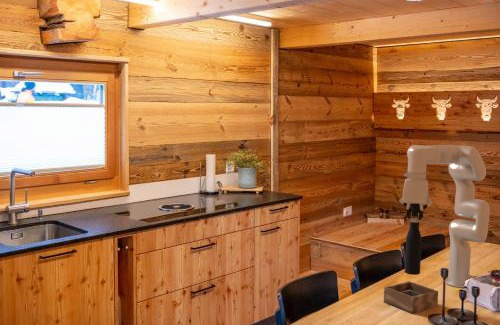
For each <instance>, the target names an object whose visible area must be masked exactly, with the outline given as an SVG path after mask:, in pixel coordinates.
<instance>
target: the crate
mask: <svg viewBox="0 0 500 325" xmlns="http://www.w3.org/2000/svg"><path fill="white" fill-rule="evenodd" d="M383 303H384V304H386V305H388V306H391V307H394V308H396V309H399V310H400V311H402V312H403V311H404V312H405V313H409V314H411V315H414V314H417V313H421V312H424V311H427V310H428V309H429V310H432V309H436V308H438V306H439V305H438V303H439V290H435V289H433V288H430V287H427V286H425V285H421V284H418V283H416V282H412V281H410V280H409V281H403V282H400V283H397V284H393V285H387V286H384V287H383ZM435 307H436V308H435Z"/></svg>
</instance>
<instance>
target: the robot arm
mask: <svg viewBox="0 0 500 325" xmlns="http://www.w3.org/2000/svg"><path fill="white" fill-rule="evenodd" d="M406 157H407V172H404V174H403V176H404V177H406V178H405V180H404V183H403V188H402V189H403V191H402V196H401V197H400V198H399V199H398V202H399V203H400V204H402V205H403V207H404V208H405V209H406V217H407V220H411V217H412V212H411V211H410V208H411V204H413V203H415V204H420V211H419V212H418V219H419V221H422V220H423V218H424V210H425V209H427V208H428V207H430V206H432V205H433V201H432V200H431V198H430V197H429V182H428V180H427V178H426V177H427V164H428V165H434V164H437V165H448V173H449V175H450V177H451V178H452V179H453V181H454V184H455V197H454V198H455V200H454V214H455V215H456V216H459V217H462V218H467V219H473V220H475V221H472V220H466V219H462V218H461V219H458V218H457V219H453V220H452V221H450V223H449V224H448V232H449V243H450V244H449V262H448V278H446V283H445V284H446V285H448V286H451V287H456V288H462V289H463V288H464V284H465V281H466V280H468V279H470V278H476V277H478V278H479V276H478V275H474V276H473V274H470V273H471V272H470V270H471V258H472V257H471V256H472V255H471V253H472V248H471V244H470V243H469V242H471V243H477V244H478V243H479V244H483V243H484V242H485V241H486V239H487V237H488V233H489V223H490V213H491V212H490V210H491V209H490V205H489V203H488V202H487V201H486V200H483V199H478V198H476V197H475V194H476V187H475V184H474V182H481V181H483V180H484V179H485V178H486V175H487V169H486V164H485V162H484V160H483V158H482V156H481V153H480V152H479V151H478V149H477V148H476V147H475V146H471V145H458V144H457V145H456V144H433V145H432V144H431V145H426V144H425V145H424V144H422V145H421V144H413V145H410V147H409V148H408V149H407V152H406Z"/></svg>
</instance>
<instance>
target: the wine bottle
mask: <svg viewBox="0 0 500 325" xmlns="http://www.w3.org/2000/svg"><path fill="white" fill-rule="evenodd" d="M410 211H411V218H410V221H409V229H408V232H407V233H406V239H405V254H404V255H405V256H404V258H405V259H404V260H405V261H404V273H406V274H407V275H410V276H412V275H414V276H416V275H417V276H419V275H420V274H421V262H422V259H421V258H422V243H423V242H422V234H421V231H420V222H419V221H420V220H419V211H420V204H415V203H411V206H410Z"/></svg>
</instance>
